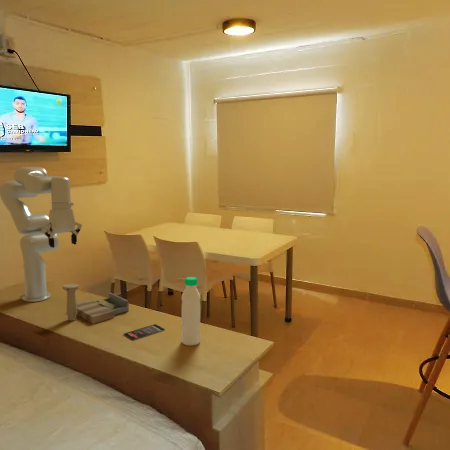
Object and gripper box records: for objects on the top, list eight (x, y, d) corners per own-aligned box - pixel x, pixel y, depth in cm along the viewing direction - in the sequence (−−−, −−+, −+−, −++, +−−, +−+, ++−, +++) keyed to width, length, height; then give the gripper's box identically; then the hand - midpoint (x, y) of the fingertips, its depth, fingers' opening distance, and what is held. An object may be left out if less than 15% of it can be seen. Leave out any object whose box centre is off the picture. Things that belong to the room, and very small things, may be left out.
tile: (98, 302, 186) (100, 298, 186) (106, 306, 189) (108, 302, 190) (104, 305, 183) (106, 301, 183) (112, 309, 186) (114, 305, 187)
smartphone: (122, 333, 161) (155, 323, 171) (122, 335, 161) (155, 325, 171) (132, 340, 156) (165, 329, 166) (132, 341, 156) (165, 331, 166)
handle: (67, 317, 178) (66, 283, 175) (82, 318, 177) (80, 284, 174) (62, 321, 173) (60, 287, 170) (76, 322, 172) (75, 287, 170)
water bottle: (183, 347, 151) (183, 281, 147) (179, 339, 158) (179, 276, 154) (202, 345, 153) (202, 280, 149) (197, 337, 160) (198, 274, 156)
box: (94, 306, 190) (93, 296, 190) (110, 302, 196) (109, 292, 195) (112, 316, 179) (112, 305, 179) (128, 311, 185) (128, 300, 184)
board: (70, 311, 185) (70, 304, 184) (91, 305, 192) (91, 299, 191) (92, 323, 171) (92, 317, 170) (114, 317, 178) (114, 310, 177)
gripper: (76, 204, 184) (78, 241, 187) (37, 206, 172) (39, 246, 175) (84, 205, 179) (86, 244, 182) (44, 208, 167) (46, 249, 170)
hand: (63, 245), depth 178 cm, fingers open, 9 cm apart
